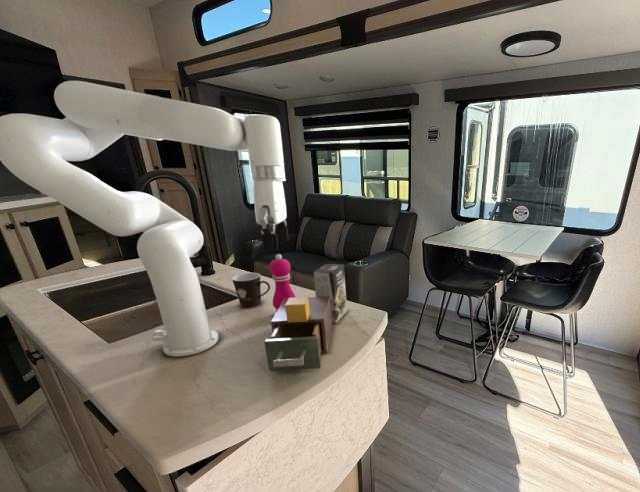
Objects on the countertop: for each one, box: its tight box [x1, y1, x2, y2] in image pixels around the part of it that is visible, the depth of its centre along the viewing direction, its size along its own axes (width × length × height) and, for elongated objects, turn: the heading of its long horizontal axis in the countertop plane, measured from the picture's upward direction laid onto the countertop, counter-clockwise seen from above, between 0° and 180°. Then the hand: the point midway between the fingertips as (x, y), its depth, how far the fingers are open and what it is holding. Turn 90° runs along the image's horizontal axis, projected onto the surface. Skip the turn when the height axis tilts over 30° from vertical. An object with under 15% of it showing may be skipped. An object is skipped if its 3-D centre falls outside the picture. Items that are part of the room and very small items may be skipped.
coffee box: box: [313, 263, 348, 324], centre depth 98 cm, size 9×6×16 cm
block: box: [285, 296, 310, 322], centre depth 77 cm, size 5×5×5 cm
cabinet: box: [270, 296, 333, 354], centre depth 85 cm, size 15×13×10 cm
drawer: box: [263, 322, 323, 373], centre depth 75 cm, size 18×11×8 cm, turn 6°
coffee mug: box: [231, 272, 271, 309], centre depth 107 cm, size 12×9×10 cm
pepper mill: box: [269, 253, 297, 313], centre depth 98 cm, size 7×7×20 cm
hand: (277, 245), depth 80 cm, fingers open, 9 cm apart
